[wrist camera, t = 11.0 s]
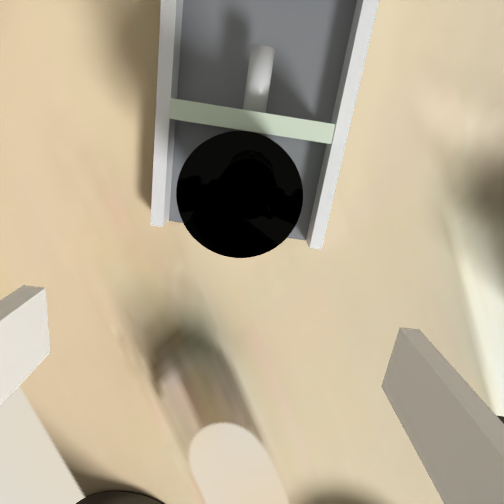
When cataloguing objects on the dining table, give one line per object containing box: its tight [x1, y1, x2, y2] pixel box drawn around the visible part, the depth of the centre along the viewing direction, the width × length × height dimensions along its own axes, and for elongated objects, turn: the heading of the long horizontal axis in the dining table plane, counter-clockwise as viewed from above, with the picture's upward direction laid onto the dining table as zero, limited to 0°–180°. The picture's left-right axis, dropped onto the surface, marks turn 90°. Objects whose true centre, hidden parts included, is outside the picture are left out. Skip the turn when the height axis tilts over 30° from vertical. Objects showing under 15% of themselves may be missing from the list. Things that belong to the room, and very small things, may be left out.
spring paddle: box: [170, 44, 335, 144], centre depth 23 cm, size 5×10×5 cm, turn 82°
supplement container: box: [176, 131, 303, 258], centre depth 23 cm, size 7×7×10 cm
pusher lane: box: [150, 0, 379, 249], centre depth 22 cm, size 22×14×7 cm, turn 172°
